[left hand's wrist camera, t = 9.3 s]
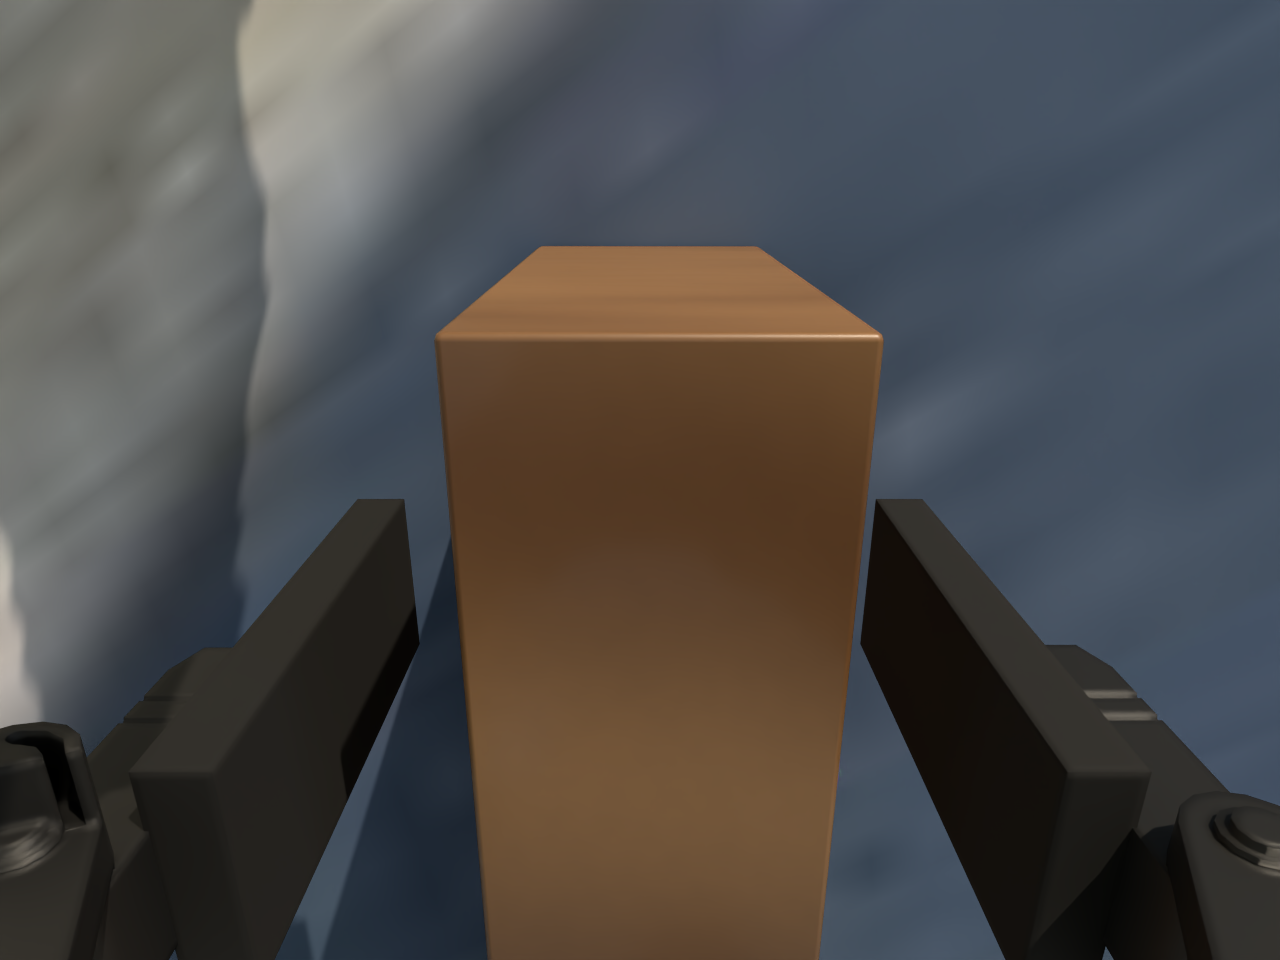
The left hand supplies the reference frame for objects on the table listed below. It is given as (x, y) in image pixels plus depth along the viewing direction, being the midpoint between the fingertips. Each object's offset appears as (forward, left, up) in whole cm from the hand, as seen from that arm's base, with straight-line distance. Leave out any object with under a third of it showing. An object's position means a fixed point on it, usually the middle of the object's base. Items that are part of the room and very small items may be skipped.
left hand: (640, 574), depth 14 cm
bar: (+15, +26, -3) cm, 30 cm away
